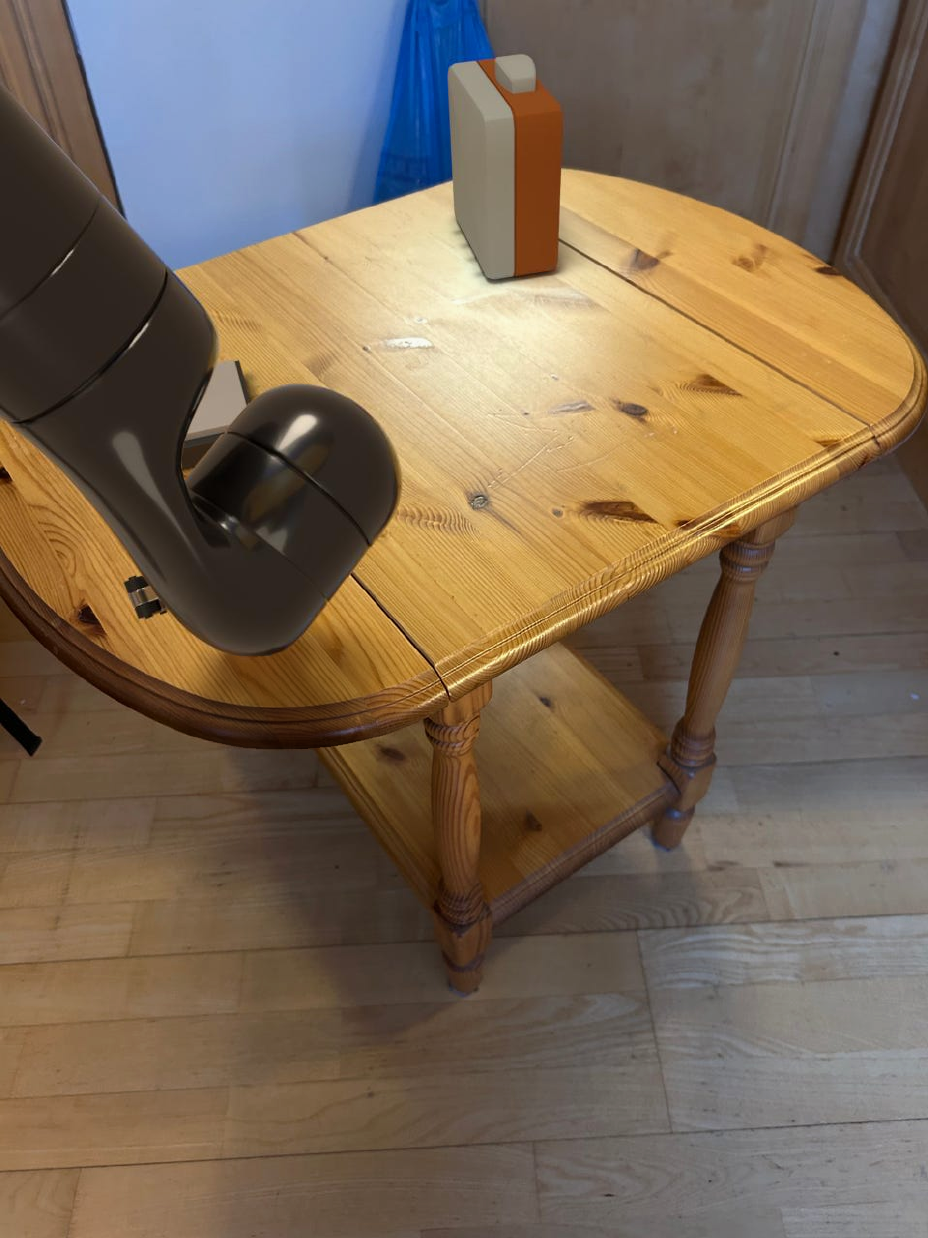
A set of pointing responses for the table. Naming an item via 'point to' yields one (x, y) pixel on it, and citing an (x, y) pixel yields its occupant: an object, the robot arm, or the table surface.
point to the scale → (215, 411)
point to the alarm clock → (506, 164)
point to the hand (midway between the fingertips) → (228, 570)
